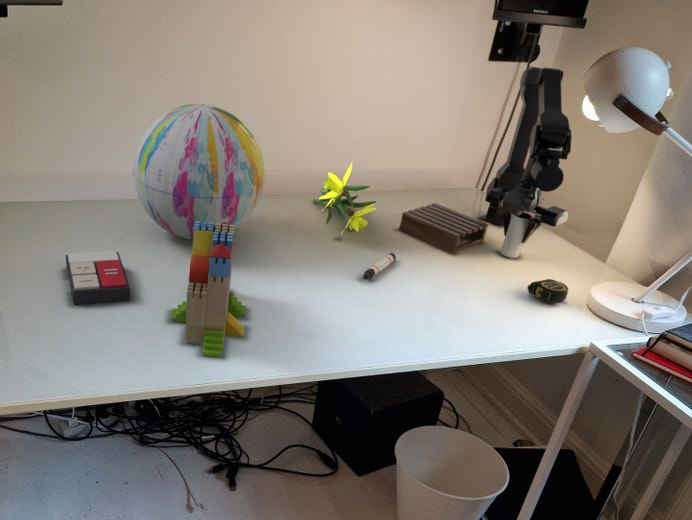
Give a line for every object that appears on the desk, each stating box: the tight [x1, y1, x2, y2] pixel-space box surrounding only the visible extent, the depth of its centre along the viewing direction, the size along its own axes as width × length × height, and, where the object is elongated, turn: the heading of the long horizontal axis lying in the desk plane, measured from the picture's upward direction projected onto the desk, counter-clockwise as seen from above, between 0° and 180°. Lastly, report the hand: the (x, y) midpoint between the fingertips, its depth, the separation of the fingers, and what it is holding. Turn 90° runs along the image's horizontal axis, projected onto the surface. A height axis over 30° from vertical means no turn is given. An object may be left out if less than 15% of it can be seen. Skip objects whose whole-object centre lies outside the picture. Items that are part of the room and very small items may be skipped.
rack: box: [398, 202, 490, 255], centre depth 168 cm, size 14×17×5 cm
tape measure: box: [526, 278, 569, 304], centre depth 143 cm, size 7×7×4 cm
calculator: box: [65, 250, 131, 305], centre depth 132 cm, size 11×4×15 cm
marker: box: [362, 252, 397, 280], centre depth 148 cm, size 15×2×2 cm, turn 145°
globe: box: [132, 103, 265, 241], centre depth 149 cm, size 30×30×30 cm
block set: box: [170, 221, 247, 358], centre depth 121 cm, size 28×14×19 cm, turn 178°
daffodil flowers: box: [313, 162, 378, 235], centre depth 167 cm, size 17×15×35 cm
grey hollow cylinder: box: [500, 211, 534, 259], centre depth 159 cm, size 4×4×10 cm
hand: (514, 239), depth 160 cm, fingers closed on grey hollow cylinder, 4 cm apart
